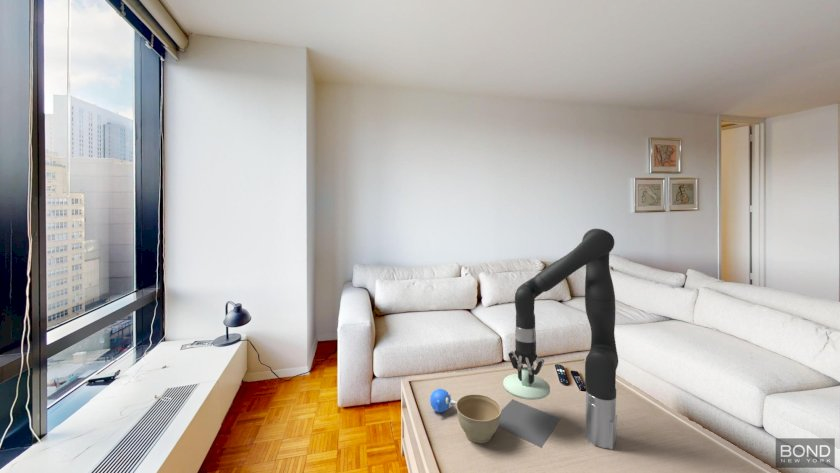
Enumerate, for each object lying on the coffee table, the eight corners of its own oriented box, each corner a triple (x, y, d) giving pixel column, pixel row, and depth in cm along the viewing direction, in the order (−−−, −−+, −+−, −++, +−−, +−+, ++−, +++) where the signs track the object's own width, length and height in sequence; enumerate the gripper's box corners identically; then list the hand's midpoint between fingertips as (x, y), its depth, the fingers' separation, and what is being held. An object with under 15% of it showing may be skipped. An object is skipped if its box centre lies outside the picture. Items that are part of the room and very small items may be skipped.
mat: (560, 419, 123) (560, 418, 123) (541, 448, 108) (541, 447, 108) (512, 400, 137) (512, 399, 137) (489, 423, 122) (489, 422, 122)
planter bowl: (506, 451, 108) (506, 420, 107) (458, 451, 108) (458, 420, 107) (495, 420, 124) (495, 393, 123) (454, 420, 124) (454, 393, 123)
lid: (556, 384, 122) (556, 367, 122) (540, 405, 109) (539, 385, 109) (514, 371, 133) (514, 355, 133) (495, 388, 120) (495, 371, 120)
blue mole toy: (455, 422, 122) (455, 402, 122) (426, 416, 126) (426, 396, 126) (461, 405, 134) (461, 385, 133) (434, 400, 138) (434, 381, 137)
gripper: (547, 339, 118) (548, 383, 119) (512, 330, 128) (513, 372, 129) (540, 345, 113) (540, 392, 114) (503, 336, 122) (504, 379, 123)
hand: (526, 381), depth 121 cm, fingers closed on lid, 3 cm apart
